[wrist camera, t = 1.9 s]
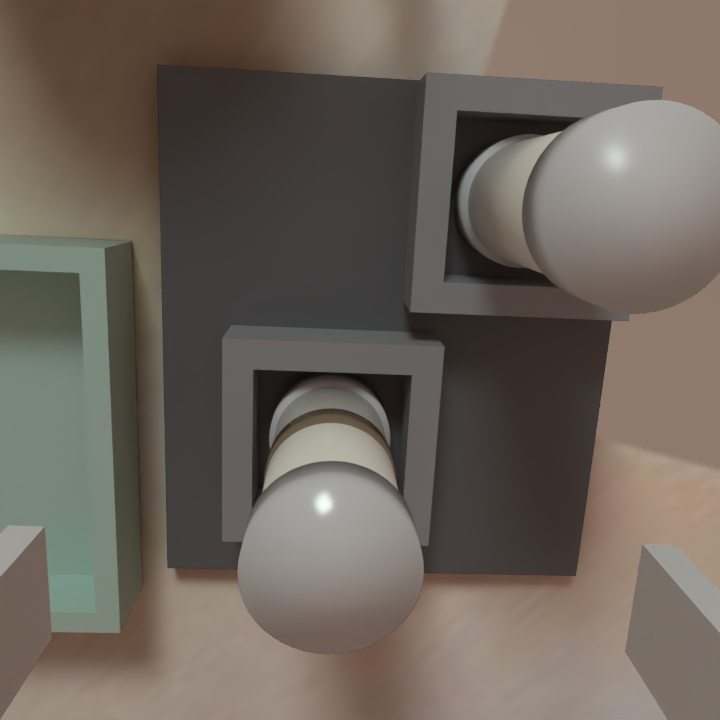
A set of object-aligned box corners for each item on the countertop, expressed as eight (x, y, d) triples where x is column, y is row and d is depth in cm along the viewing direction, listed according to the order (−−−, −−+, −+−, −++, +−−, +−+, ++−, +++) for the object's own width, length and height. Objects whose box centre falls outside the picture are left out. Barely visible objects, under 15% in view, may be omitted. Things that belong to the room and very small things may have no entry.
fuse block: (172, 556, 27) (73, 790, 16) (163, 68, 23) (20, -36, 12) (568, 565, 28) (714, 791, 17) (633, 97, 23) (879, 23, 13)
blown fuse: (271, 476, 25) (236, 652, 16) (273, 367, 24) (238, 484, 15) (383, 479, 26) (417, 655, 16) (390, 371, 25) (430, 489, 15)
